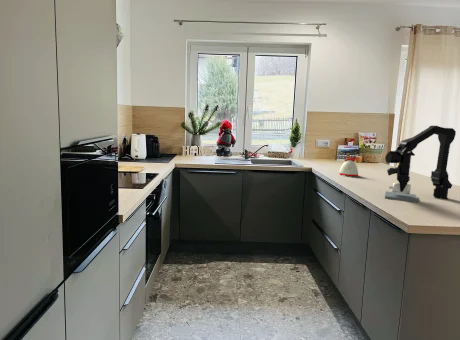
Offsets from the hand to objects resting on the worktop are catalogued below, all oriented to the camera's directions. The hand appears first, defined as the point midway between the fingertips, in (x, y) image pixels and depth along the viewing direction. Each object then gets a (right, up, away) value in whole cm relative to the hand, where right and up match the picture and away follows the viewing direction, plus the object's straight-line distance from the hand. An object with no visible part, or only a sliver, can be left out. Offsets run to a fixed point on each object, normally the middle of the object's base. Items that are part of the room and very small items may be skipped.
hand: (401, 190), depth 204 cm
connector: (0, -1, 0) cm, 1 cm away
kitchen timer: (-5, +7, +77) cm, 78 cm away
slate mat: (0, -4, +1) cm, 4 cm away
